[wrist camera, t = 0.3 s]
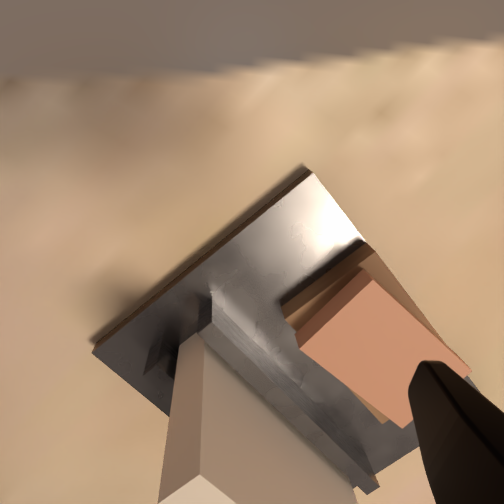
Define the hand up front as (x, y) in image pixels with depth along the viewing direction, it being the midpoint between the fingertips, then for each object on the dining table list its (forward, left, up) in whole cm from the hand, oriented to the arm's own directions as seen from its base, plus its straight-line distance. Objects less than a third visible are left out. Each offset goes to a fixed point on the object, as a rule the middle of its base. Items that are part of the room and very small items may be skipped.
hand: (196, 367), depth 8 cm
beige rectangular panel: (-6, -12, -14) cm, 20 cm away
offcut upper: (+2, -12, -13) cm, 18 cm away
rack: (-3, -12, -15) cm, 20 cm away
